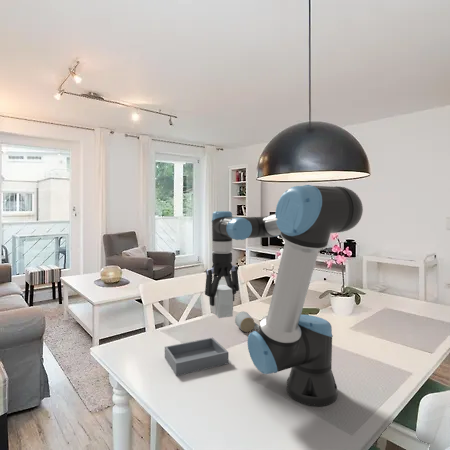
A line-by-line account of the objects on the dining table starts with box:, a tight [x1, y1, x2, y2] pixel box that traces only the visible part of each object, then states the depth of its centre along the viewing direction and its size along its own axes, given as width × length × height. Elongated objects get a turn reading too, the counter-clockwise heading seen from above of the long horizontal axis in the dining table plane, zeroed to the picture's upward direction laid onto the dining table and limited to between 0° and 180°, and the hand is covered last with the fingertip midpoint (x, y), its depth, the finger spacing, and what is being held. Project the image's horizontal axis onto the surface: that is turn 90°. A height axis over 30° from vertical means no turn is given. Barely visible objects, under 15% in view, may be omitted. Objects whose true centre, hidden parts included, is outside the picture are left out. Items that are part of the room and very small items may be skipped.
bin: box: [164, 337, 230, 376], centre depth 121 cm, size 15×20×4 cm
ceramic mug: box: [234, 310, 260, 333], centre depth 152 cm, size 11×8×8 cm
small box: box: [215, 284, 234, 319], centre depth 124 cm, size 8×6×10 cm
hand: (222, 311), depth 124 cm, fingers closed on small box, 7 cm apart
